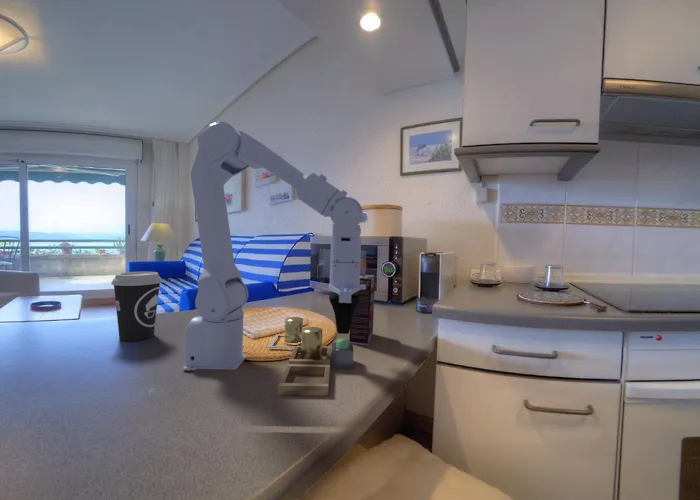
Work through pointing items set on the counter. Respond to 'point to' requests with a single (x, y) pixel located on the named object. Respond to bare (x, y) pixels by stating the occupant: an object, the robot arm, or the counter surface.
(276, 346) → the grey square frame
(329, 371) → the holder tray
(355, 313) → the supplement box
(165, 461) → the counter surface
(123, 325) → the coffee cup
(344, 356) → the button pedestal
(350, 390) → the counter surface
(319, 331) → the seated billet
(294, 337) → the cylinder
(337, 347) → the button
